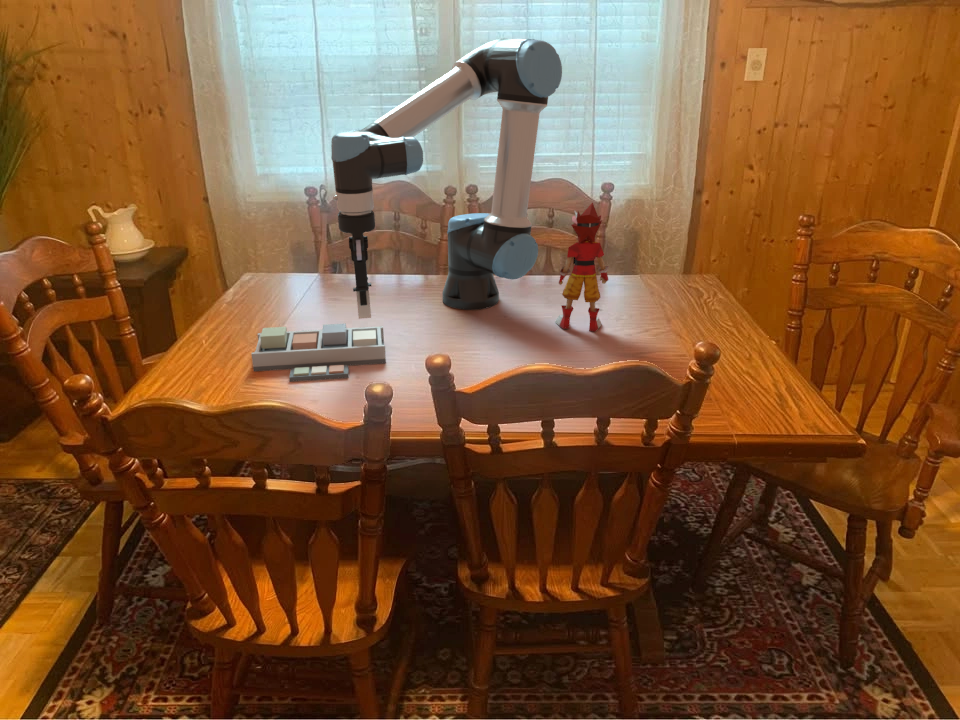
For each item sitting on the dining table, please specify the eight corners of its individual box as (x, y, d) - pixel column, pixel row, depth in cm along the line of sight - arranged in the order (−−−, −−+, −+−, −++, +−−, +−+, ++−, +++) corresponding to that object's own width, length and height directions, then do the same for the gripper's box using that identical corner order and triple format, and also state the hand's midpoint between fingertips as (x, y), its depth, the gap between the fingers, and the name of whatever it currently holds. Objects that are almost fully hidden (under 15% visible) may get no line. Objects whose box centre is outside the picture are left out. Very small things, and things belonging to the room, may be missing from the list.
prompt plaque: (348, 369, 158) (348, 363, 157) (348, 377, 154) (347, 371, 153) (291, 372, 156) (290, 366, 155) (289, 381, 152) (289, 375, 151)
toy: (599, 318, 185) (608, 199, 173) (608, 332, 177) (618, 208, 164) (552, 319, 184) (558, 200, 172) (559, 333, 176) (565, 209, 164)
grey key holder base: (383, 341, 171) (382, 326, 170) (385, 363, 160) (384, 346, 159) (260, 349, 167) (258, 332, 166) (253, 371, 157) (251, 354, 155)
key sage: (287, 338, 164) (286, 326, 162) (285, 347, 159) (284, 335, 158) (264, 339, 163) (262, 327, 162) (261, 348, 158) (260, 336, 157)
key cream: (376, 341, 167) (375, 330, 166) (376, 350, 163) (376, 338, 161) (354, 342, 166) (353, 331, 165) (353, 351, 162) (353, 339, 161)
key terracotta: (318, 344, 165) (316, 333, 164) (317, 353, 161) (315, 341, 160) (295, 346, 165) (294, 334, 163) (293, 355, 160) (292, 343, 159)
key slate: (346, 335, 165) (345, 323, 164) (346, 343, 161) (345, 331, 160) (324, 336, 165) (323, 324, 164) (323, 345, 160) (322, 333, 159)
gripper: (338, 204, 157) (347, 307, 167) (336, 219, 145) (347, 329, 156) (373, 202, 158) (381, 305, 168) (374, 217, 146) (383, 327, 157)
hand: (364, 316), depth 162 cm, fingers closed
